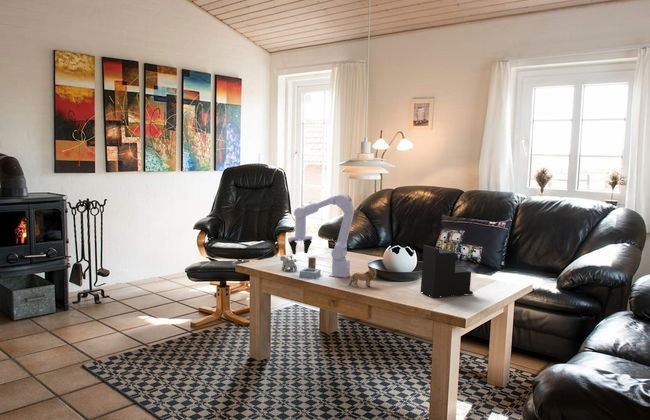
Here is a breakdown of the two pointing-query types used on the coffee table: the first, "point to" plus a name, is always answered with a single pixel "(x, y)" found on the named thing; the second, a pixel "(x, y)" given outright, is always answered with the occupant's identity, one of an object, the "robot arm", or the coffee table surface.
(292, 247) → the robot arm
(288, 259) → the elephant statuette
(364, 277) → the lion figurine
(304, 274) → the socket
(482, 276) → the coffee table surface
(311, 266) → the peg
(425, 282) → the bookend
